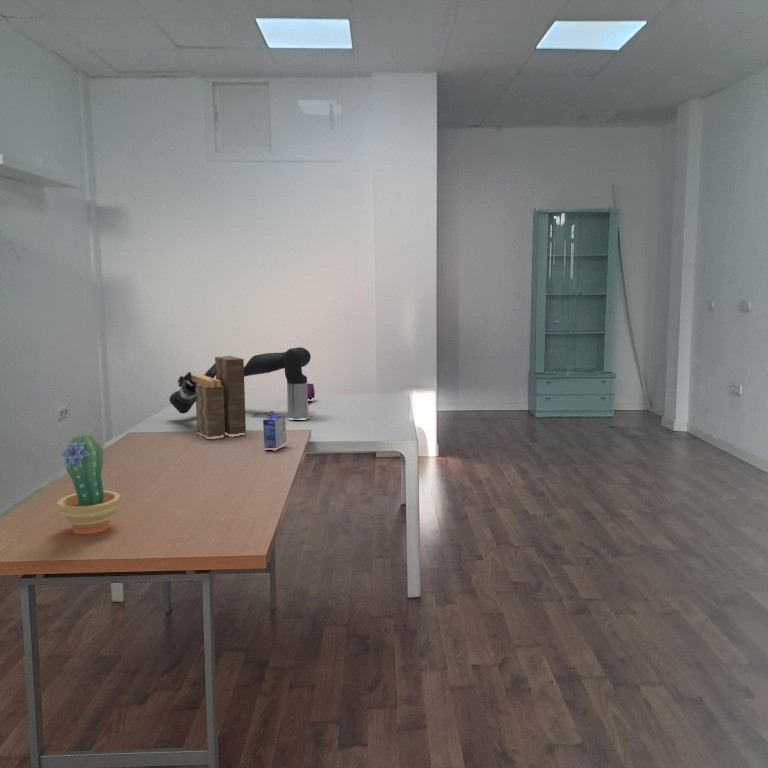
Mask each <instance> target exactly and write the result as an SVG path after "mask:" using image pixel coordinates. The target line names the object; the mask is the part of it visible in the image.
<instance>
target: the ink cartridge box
mask: <svg viewBox="0 0 768 768" xmlns="http://www.w3.org/2000/svg"><path fill="white" fill-rule="evenodd" d="M268 414H269V416H268V417H267V418H265V419H263V420H262V425H263V429H262V430H263V442H264V444H263V445H264V449H265V448H278V447H279V446H281V445H282V444H284V443H285V442H287V427H286V426H287V424H286V415H282V414H281V415H280V414H276V413H275V412H274V410H270V411H268Z"/></svg>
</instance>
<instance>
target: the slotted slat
mask: <svg viewBox="0 0 768 768" xmlns="http://www.w3.org/2000/svg"><path fill="white" fill-rule="evenodd" d="M191 379H192V381H194V382H197V383H199V384H202V385H205V386H208V387H211V388H212V387H214V386H216V387H221V381H220V380H217V379H216V378H215V377H214V378H211V377H208V376H204V374H201V373H199V374H191Z"/></svg>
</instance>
